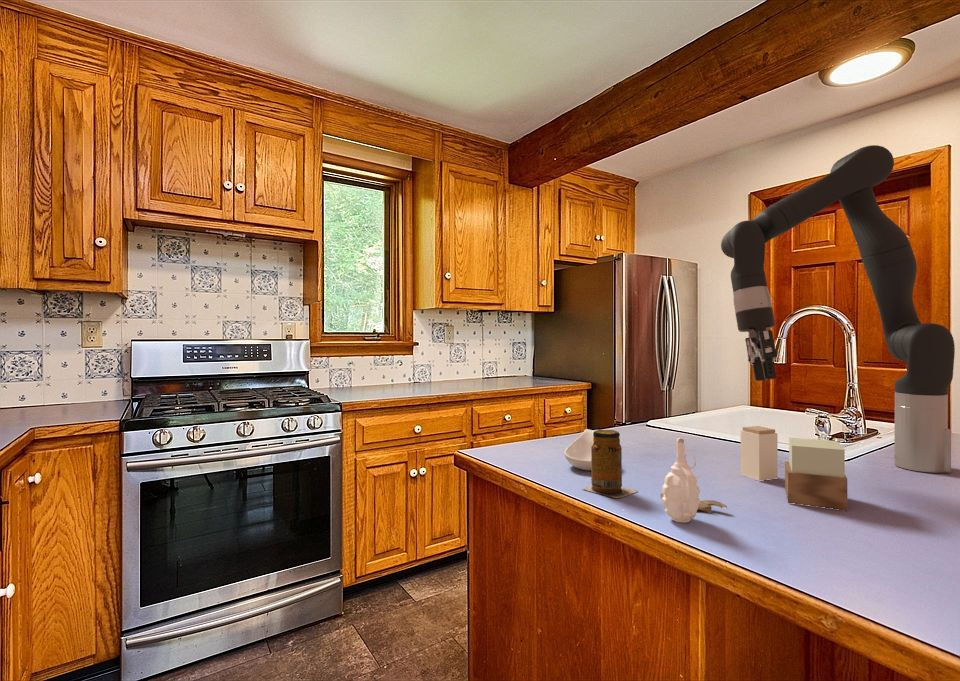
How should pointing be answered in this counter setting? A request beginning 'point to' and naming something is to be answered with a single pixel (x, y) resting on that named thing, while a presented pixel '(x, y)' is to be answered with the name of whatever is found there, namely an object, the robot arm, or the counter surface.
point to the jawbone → (706, 504)
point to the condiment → (607, 465)
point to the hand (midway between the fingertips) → (765, 379)
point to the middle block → (817, 457)
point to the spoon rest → (581, 451)
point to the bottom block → (815, 489)
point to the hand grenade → (681, 488)
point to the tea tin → (759, 453)
